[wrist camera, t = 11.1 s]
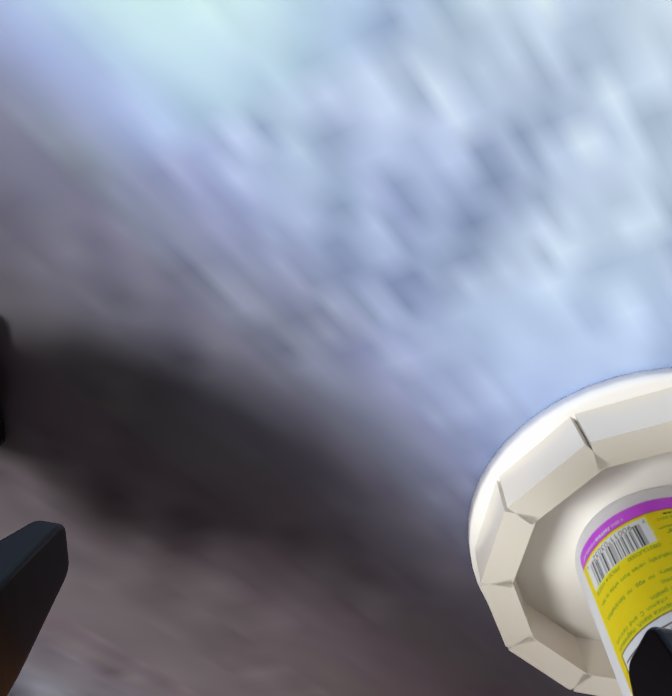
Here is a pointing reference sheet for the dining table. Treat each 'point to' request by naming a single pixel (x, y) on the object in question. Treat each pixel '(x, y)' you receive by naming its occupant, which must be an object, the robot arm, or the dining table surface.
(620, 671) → the supplement bottle
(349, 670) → the dining table surface
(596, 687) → the ring tray
